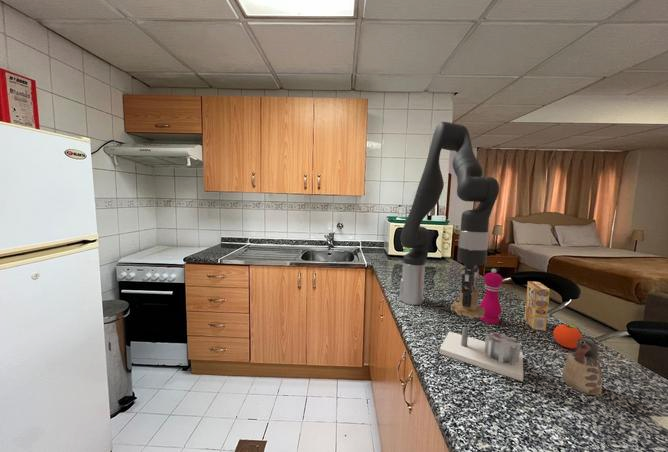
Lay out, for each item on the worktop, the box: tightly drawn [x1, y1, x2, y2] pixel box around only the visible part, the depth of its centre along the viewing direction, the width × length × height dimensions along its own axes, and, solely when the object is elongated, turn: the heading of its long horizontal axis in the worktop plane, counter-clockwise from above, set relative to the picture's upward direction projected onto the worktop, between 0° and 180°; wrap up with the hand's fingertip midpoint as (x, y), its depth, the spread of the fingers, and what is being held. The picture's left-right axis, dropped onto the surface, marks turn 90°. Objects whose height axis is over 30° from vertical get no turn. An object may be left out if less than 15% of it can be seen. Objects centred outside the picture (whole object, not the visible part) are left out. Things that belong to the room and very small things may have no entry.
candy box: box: [524, 280, 551, 332], centre depth 98 cm, size 9×4×15 cm, turn 162°
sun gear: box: [485, 331, 522, 366], centre depth 75 cm, size 8×8×5 cm
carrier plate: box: [439, 326, 524, 382], centre depth 78 cm, size 20×13×7 cm, turn 56°
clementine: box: [553, 324, 583, 349], centre depth 84 cm, size 8×7×7 cm
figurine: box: [562, 337, 603, 396], centre depth 66 cm, size 7×7×12 cm
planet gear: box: [450, 287, 485, 319], centre depth 79 cm, size 9×9×6 cm
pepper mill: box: [479, 268, 503, 325], centre depth 101 cm, size 7×7×20 cm
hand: (467, 303), depth 79 cm, fingers closed on planet gear, 4 cm apart
